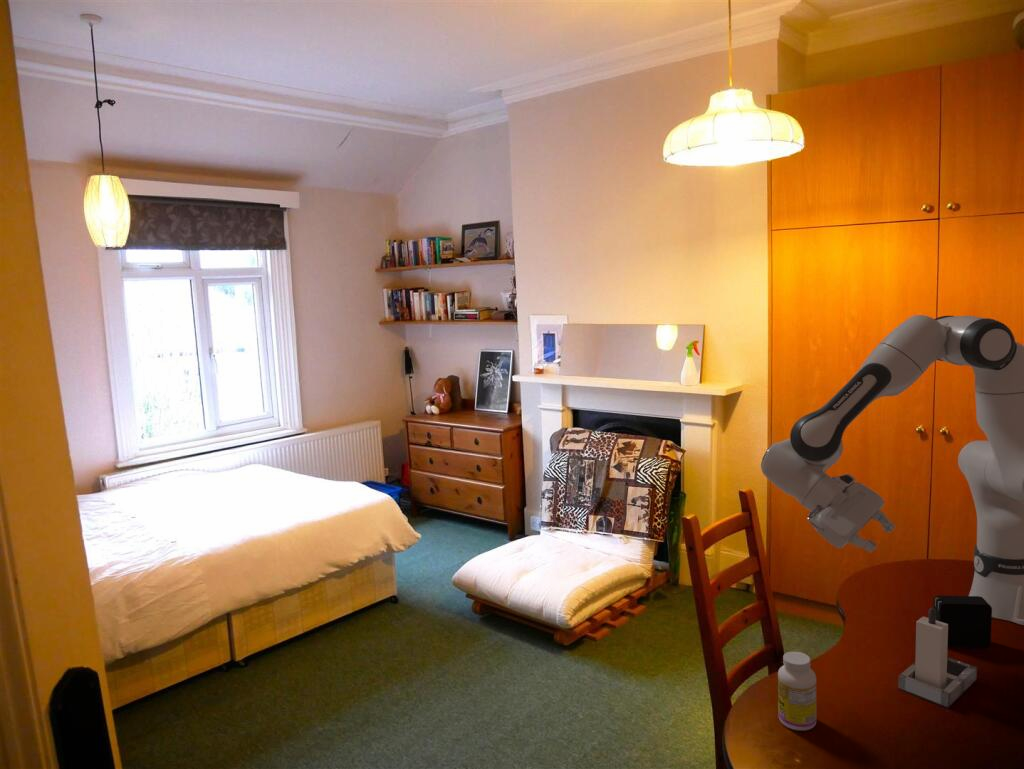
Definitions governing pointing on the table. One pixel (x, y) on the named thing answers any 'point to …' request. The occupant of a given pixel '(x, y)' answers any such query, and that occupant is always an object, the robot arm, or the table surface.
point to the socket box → (956, 685)
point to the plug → (931, 651)
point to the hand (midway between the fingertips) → (883, 539)
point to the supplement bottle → (797, 692)
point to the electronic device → (965, 620)
